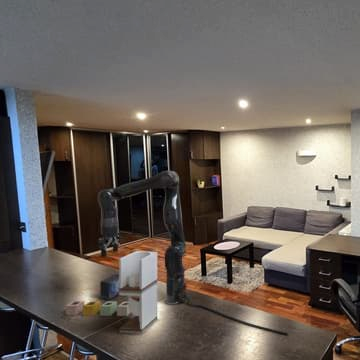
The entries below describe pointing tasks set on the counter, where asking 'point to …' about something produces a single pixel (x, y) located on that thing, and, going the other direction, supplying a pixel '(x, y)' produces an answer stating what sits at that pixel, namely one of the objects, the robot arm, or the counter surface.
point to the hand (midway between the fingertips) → (109, 254)
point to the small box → (109, 287)
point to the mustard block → (91, 308)
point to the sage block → (108, 308)
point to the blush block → (74, 308)
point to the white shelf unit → (139, 289)
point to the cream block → (123, 309)
